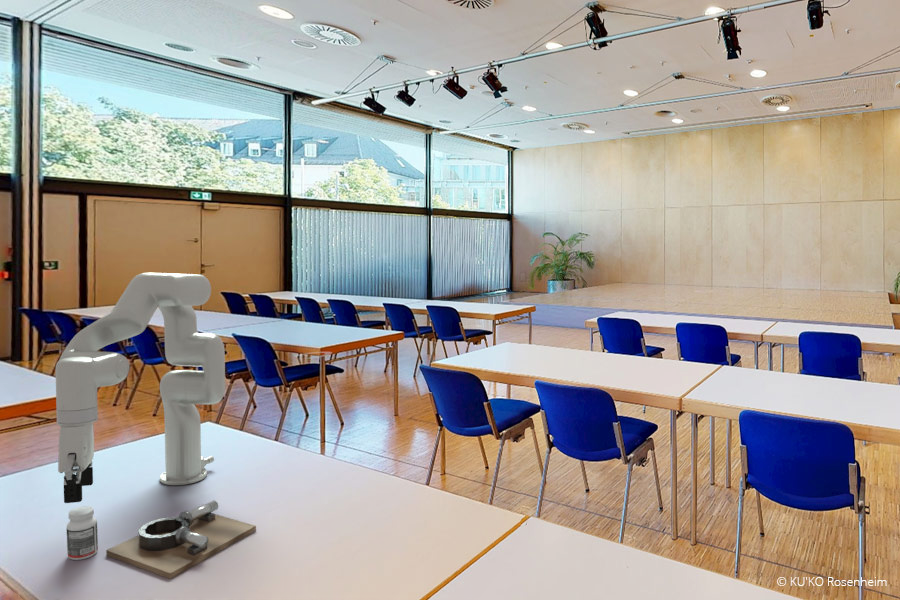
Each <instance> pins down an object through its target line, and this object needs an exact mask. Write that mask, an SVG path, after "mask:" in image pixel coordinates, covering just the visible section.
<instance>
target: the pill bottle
mask: <svg viewBox="0 0 900 600" xmlns="http://www.w3.org/2000/svg"><path fill="white" fill-rule="evenodd" d="M94 510H95V509H94V507H93V506H89V505H88V506H86V505H85V506H78V507H75V508H73V509H71V510H70V511H68V517H67V518H68V519H69V521H68V522H67V523H66V548H67V550H66V551H67V558H68V559H70V560H74V561H80V560H85V559H88V558H91V557H93V556H94V555H96V554H97V552H98V551H99V543H98V539H99V538H98V521H97V518H96V517H95V516H94V514H95V513H94Z"/></svg>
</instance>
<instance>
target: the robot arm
mask: <svg viewBox="0 0 900 600" xmlns="http://www.w3.org/2000/svg"><path fill="white" fill-rule="evenodd" d="M211 295H212V286H211V283H210V281H209V279H208V278H207V277H206V276H205V275H203V274H193V273H191V274H190V273H188V274H187V273H175V272H174V273H173V272H172V273H170V272H169V273H167V272H163V273H162V272H143V273H139V274H137V275H135V276H134V277H133V278H131V280H130V282H129V283H128V285H127V286H126V287H125V289H124V291H123V293H122V294H121V296H120V297H119V299H118V300H117V302H116V304H114V307H113V309H112V310H111V311H110V313H108V314H106V315H104V316H102V317H101V318H98V319H97V320H95V321H93V322H92V323H90V324H89V325H87V326H86V327H83V329H81V330H80V331H79V332H77V333H76V334H75V335H74V336H73V338H72V339H71V340H70V341H69V343H68V344H67V345H66V346H65V348H64V350H63V352H62V354H61V355H60V358H59V360H58V361H57V363H56V364H55V398H56V401H55V403H56V406H55V407H56V410H55V411H56V425H57V426H59V427H60V428H59V435H58V436H59V438H58V459H57V460H58V461H57V464H58V465H57V471H58V473H60V474H64V476H63V502H64V504H71V503H80V502H82V501H83V487H86V486H87V487H88V486H92V485H93V484H94V473H93V472H94V469H93V460H94V455H95V436H94V423H96V422H98V420H99V412H98V411H99V409H98V408H99V406H98V388H100V387H110V386H115V385H117V384H120V383H122V382H123V381H124V380H125V379H126V378H127V377H128V375H129V372H130V362H129V360H128V358H127V357H126V356H125V355H123V354H122V353H119V352H114V351H99V350H101V349H103V348H104V347H106V346H108V345H111V344H115V343H118V342H121V341H124V340H127V339H130V338H133V337H136V336H138V335H140V334H142V333H143V332H144V331H145V330H146V328H147V327H148V325H149V323H150V321H151V320H152V317H153V316H154V314H155V313H156V311H157V309H159V310H160V313H161V315H162V318H163V327H164V330H163V331H164V354H165V355H164V356H165V359H166V361H167V363H168V364H170V365H172V366H176V367H177V366H179V367H197V368H198V367H201V368H202V370H195V369H194V370H191V369H177V370H176V369H175V370H171V371H168V372H167V373H165V374H164V375H163V376H162V377H161V379H160V383H159V392H160V397H161V402H162V406H163V407H162V408H163V414H164V415H163V416H164V417H163V419H164V454H165V455H164V456H165V457H164V458H165V471H164V472H162V473H161V474H160V475H159V482H161V483H162V484H163V485H166V486H167V485H168V486H183V485H191V484H194V483H197V482H199V481H202V480H203V479H206V477H207V475H208V470H207V469H206V468H205V467H206V466H207V465H208V464H211V463H213V462H214V461H215V458H214V456H213V455H210V456H207V457H204V456H202V437H201V436H202V435H201V429H202V428H201V420H202V419H201V414H200V412H199V410H198V408H197V406H196V405H216V404H218V403H219V402H221V401H222V400H223V398H224V395H225V390H226V356H225V355H226V354H225V352H226V351H225V345H224V341H223V340H222V338H221V336H218V335H217V334H214V333H206V332H203V333H202V332H199V331H198V325H197V324H198V323H197V321H198V320H197V314H196V312H195V309H194V308H193V307H197V306H202V305H204V304H206V303H207V302H208V301H209V299H210V297H211Z"/></svg>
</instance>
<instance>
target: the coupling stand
mask: <svg viewBox="0 0 900 600" xmlns="http://www.w3.org/2000/svg"><path fill="white" fill-rule="evenodd" d="M218 509H219V503H218V501H216V500H212V501H210V502H209V501H208V502H206V503H205V504H203V505H201V506H198V507H197V508H196V507H195V508H194V509H191V510H190V511H188V510H184V511H182V512H180V513H179V516H177V517H175V516H173V517H171V516H169V517H167V516H166V517H163V518H157V519H153V520H152V521H149V522H146V523H144V524H143V525H141V527H139V529H138V531H137V533H138V535H137V536H134V537H132V538H130V539H127V540H126V541H123V542H122V543H119V544H117V545H115V546H112V547H110V548H108V549H106V556H107V557H110V558H113V559H114V560H118V561H121V562H124V563H126V564H129V565H131V566H134V567H137V568H140V569H142V570H145V571H148V572H150V573H153V574H156V575H159V576H162V577H165V578H167V579H170V580H171V579H173V578H174V577H177V576H179V575H180V574H182V573H183V572H185V571H187V570H189V569H191V568H193V567H194V566H196V565H197V564H199V563H201V562H203V561H204V560H206V559H208V558H210V557H212V556H214V555H215V554H218V553H219V552H221V551H222V550H224V549H226V548H227V547H229V546H232V545H233V544H235V543H237V542H238V541H240V540H243V539H244V538H245V537H247V536H249V535H251V534H252V532H253V533H254V532H256V531H257V525H254V524H251V523H247V522H244V521H241V520H237V519H234V518H231V517H227V516H223V515H220V514H216V513H213V512H215V511H217V510H218Z"/></svg>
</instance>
